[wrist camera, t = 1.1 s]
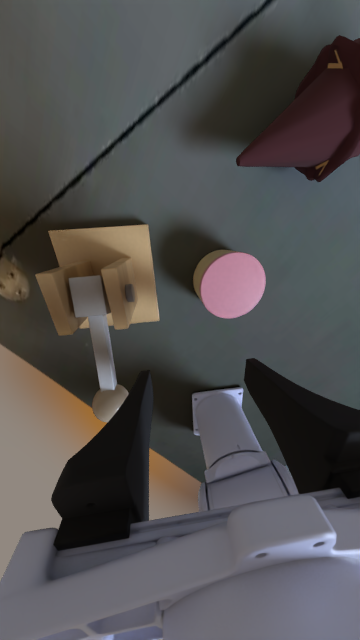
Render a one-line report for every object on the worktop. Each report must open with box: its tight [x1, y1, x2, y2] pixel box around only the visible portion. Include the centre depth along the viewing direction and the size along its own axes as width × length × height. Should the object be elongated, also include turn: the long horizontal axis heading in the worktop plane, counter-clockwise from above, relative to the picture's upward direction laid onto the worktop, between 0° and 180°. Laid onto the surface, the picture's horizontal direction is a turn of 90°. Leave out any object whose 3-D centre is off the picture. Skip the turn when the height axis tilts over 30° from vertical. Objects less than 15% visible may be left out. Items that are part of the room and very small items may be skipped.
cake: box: [193, 250, 266, 318], centre depth 19 cm, size 6×6×4 cm
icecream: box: [236, 35, 360, 182], centre depth 14 cm, size 7×7×15 cm
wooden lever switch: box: [35, 224, 159, 336], centre depth 16 cm, size 10×9×8 cm
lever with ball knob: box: [68, 275, 129, 422], centre depth 15 cm, size 12×3×3 cm, turn 4°
